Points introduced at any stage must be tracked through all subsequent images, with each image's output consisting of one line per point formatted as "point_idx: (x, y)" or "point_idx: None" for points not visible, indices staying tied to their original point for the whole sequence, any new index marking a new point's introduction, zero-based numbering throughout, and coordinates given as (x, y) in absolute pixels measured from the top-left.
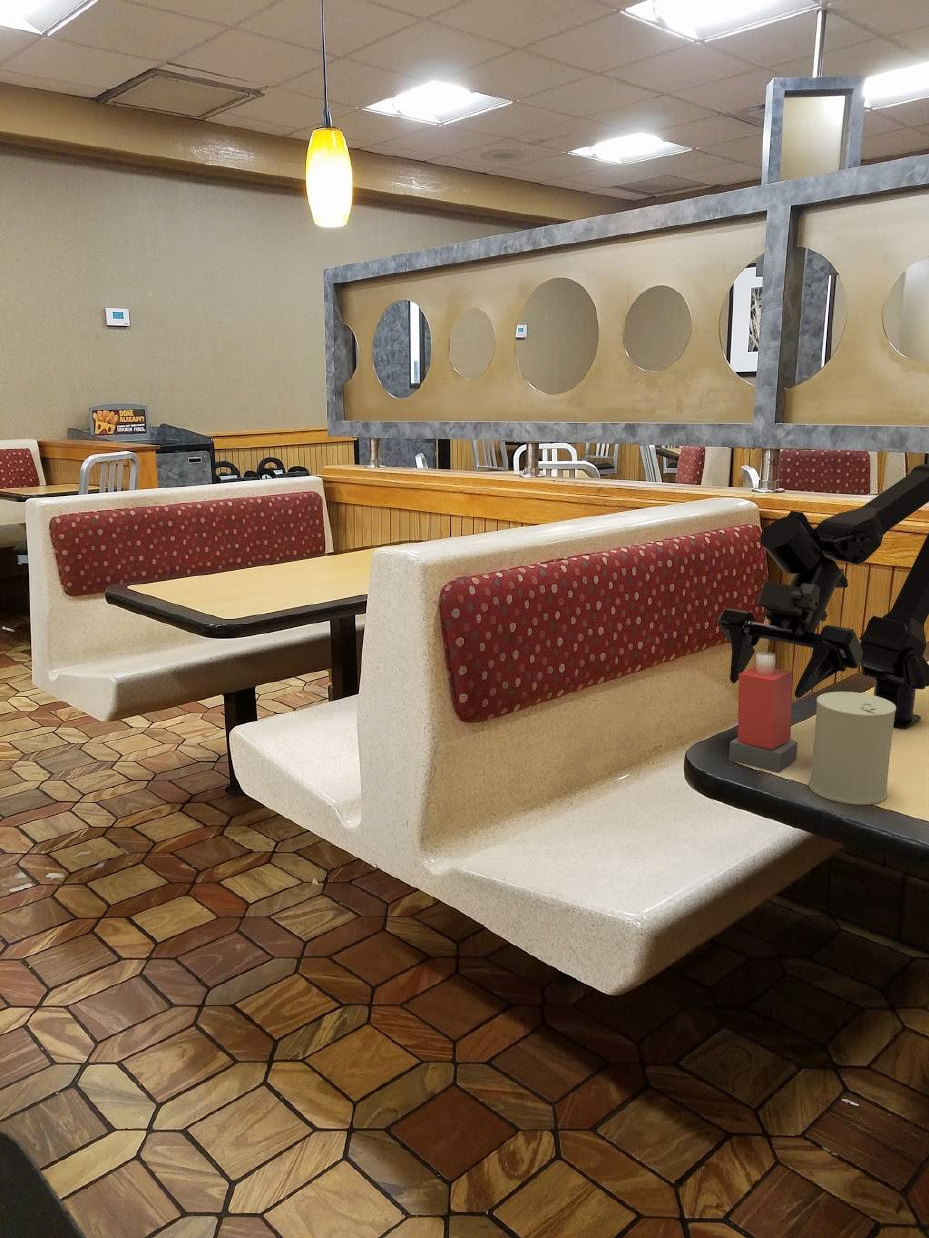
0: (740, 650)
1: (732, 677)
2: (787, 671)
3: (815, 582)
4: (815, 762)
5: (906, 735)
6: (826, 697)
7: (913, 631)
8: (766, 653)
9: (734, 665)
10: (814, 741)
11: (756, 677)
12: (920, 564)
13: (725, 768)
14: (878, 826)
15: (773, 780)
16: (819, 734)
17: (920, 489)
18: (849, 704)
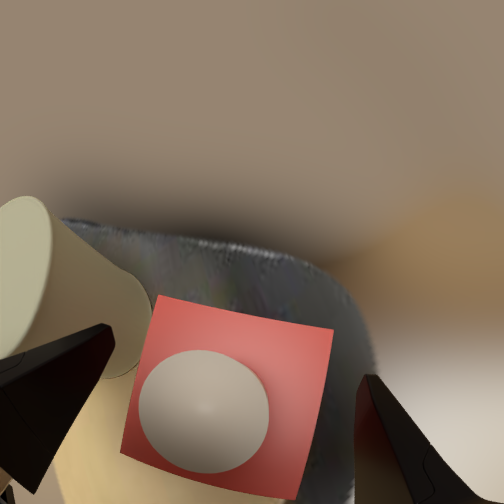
0: (405, 477)
1: (369, 377)
2: (138, 451)
3: None
4: (120, 275)
5: None
6: (32, 281)
7: None
8: (204, 440)
9: (391, 413)
10: (106, 277)
11: (239, 314)
12: None
13: (297, 303)
14: (75, 228)
15: (205, 298)
16: (86, 247)
17: None
18: (5, 256)
